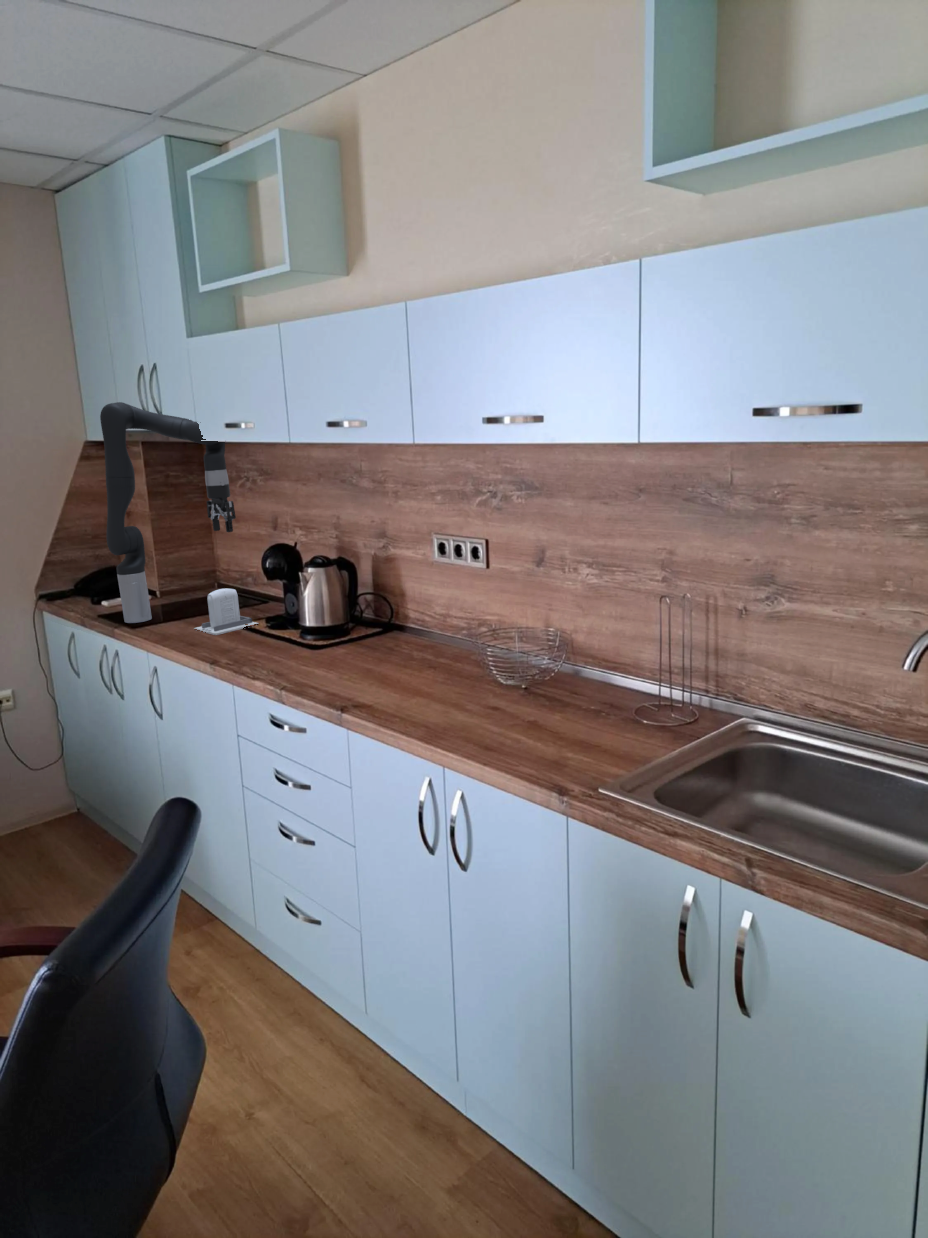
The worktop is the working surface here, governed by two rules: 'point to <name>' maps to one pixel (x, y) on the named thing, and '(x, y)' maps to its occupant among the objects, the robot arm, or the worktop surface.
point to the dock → (226, 626)
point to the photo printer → (223, 607)
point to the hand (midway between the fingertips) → (223, 531)
